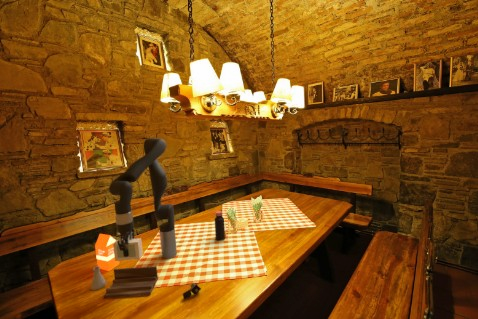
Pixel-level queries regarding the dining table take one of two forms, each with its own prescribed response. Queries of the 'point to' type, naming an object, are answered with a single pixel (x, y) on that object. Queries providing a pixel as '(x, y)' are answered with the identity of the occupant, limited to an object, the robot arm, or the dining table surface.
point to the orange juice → (105, 252)
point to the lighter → (193, 289)
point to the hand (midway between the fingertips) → (128, 253)
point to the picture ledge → (132, 282)
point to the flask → (97, 279)
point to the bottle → (219, 226)
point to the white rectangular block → (129, 250)
